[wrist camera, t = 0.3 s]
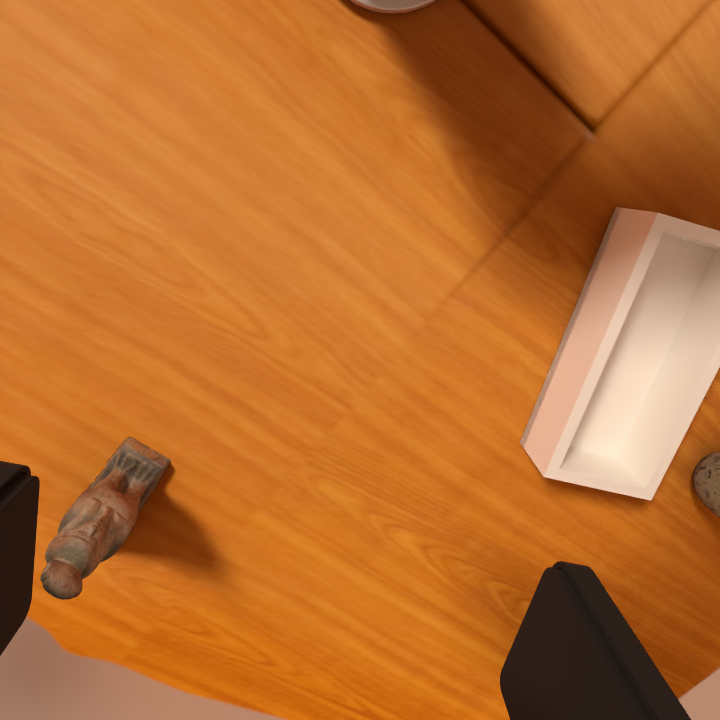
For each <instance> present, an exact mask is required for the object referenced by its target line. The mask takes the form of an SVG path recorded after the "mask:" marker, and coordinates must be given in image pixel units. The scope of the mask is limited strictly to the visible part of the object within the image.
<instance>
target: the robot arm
mask: <svg viewBox="0 0 720 720" xmlns="http://www.w3.org/2000/svg"><path fill="white" fill-rule="evenodd" d="M350 1H351V2H353V3H354V4H356V5H358V6H360V7H363V8H366V9H368V10H371V11H375V12H381V13H388V14H393V13H406V12H410V11H413V10H417V9H420V8H423V7H425V6H427V5H429V4H430V3H432V2H434V1H436V0H350ZM39 485H40V484H39V478H38V477H37V476H31V471H30V469H29V467H28V466H25V465H20V464H14V463H8V462H3V461H0V655H1V654H2V652H3V651H4V650H5V648H6V647H7V645H8V644H9V642H10V641H11V639H12V638H13V636H14V635H15V633H16V632H17V630H18V629H19V628H20V626H21V625H22V623H23V621H24V620H25V618H26V616H27V613H28V611H29V608H30V604H31V599H32V585H33V571H34V556H35V542H36V528H37V514H38V500H39ZM500 687H501V692H502V695H503V698H504V701H505V704H506V708H507V711H508V714H509V717H510V720H691V719H690V717H689V716H688V714H687V713H686V711H685V710H684V708H683V707H682V705H681V704H680V702H679V701H678V699H677V697H676V696H675V694H674V693H673V691H672V690H671V688H670V687H669V685H668V684H667V682H666V681H665V679H664V678H663V676H662V675H661V673H660V672H659V670H658V669H657V667H656V666H655V664H654V663H653V661H652V660H651V658H650V657H649V655H648V653H647V652H646V650H645V649H644V647H643V646H642V644H641V643H640V641H639V640H638V638H637V637H636V635H635V634H634V632H633V631H632V629H631V628H630V626H629V625H628V623H627V622H626V620H625V619H624V617H623V616H622V614H621V613H620V611H619V609H618V608H617V606H616V605H615V603H614V602H613V600H612V599H611V597H610V596H609V594H608V593H607V591H606V590H605V588H604V587H603V585H602V584H601V582H600V581H599V579H598V578H597V576H596V575H595V573H594V572H593V570H592V569H591V568H590V567H588V566H584V565H579V564H573V563H567V562H562V561H560V562H556V563H555V564H554V565H553V567H552V568H551V567H549V568H547V569H546V570H545V571H544V573H543V575H542V577H541V580H540V582H539V584H538V587H537V589H536V591H535V594H534V596H533V598H532V601H531V603H530V605H529V608H528V610H527V612H526V615H525V617H524V619H523V621H522V624H521V626H520V628H519V631H518V633H517V635H516V638H515V640H514V642H513V645H512V647H511V649H510V652H509V654H508V656H507V659H506V661H505V663H504V666H503V668H502V671H501V676H500Z"/></svg>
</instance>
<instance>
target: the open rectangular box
mask: <svg viewBox="0 0 720 720" xmlns="http://www.w3.org/2000/svg"><path fill="white" fill-rule="evenodd" d="M719 367H720V231H718V230H715V229H711V228H708V227H705V226H701V225H698V224H695V223H691V222H688V221H685V220H681V219H678V218H675V217H671V216H668V215H665V214H661V213H658V212H651V211H643V210H636V209H628V208H620V207H616V208H615V210H614V213H613V215H612V218H611V220H610V222H609V225H608V227H607V230H606V232H605V235H604V237H603V240H602V242H601V245H600V247H599V249H598V252H597V254H596V257H595V259H594V262H593V264H592V267H591V269H590V272H589V274H588V277H587V279H586V281H585V284H584V286H583V289H582V291H581V294H580V296H579V299H578V301H577V304H576V306H575V308H574V311H573V313H572V316H571V318H570V321H569V323H568V326H567V328H566V331H565V333H564V336H563V338H562V340H561V343H560V345H559V348H558V350H557V353H556V355H555V358H554V360H553V363H552V365H551V367H550V370H549V372H548V375H547V377H546V380H545V382H544V385H543V387H542V390H541V392H540V394H539V397H538V399H537V402H536V404H535V407H534V409H533V412H532V414H531V417H530V419H529V422H528V424H527V426H526V429H525V431H524V434H523V436H522V439H521V441H520V443H521V445H522V446H523V448H524V449H525V451H526V452H527V454H528V455H529V456H530V458H531V459H532V461H533V462H534V464H535V465H536V467H537V468H538V470H539V471H540V472H541V474H542V475H543V477H546V478H551V479H555V480H560V481H564V482H569V483H573V484H578V485H582V486H587V487H591V488H596V489H600V490H605V491H610V492H614V493H619V494H623V495H628V496H632V497H637V498H641V499H646V500H650V501H651V500H652V498H653V496H654V494H655V492H656V490H657V488H658V486H659V484H660V482H661V480H662V478H663V476H664V475H665V473H666V471H667V469H668V467H669V465H670V463H671V461H672V459H673V457H674V455H675V453H676V451H677V449H678V447H679V445H680V443H681V441H682V439H683V437H684V435H685V434H686V432H687V430H688V428H689V426H690V424H691V422H692V420H693V418H694V416H695V414H696V412H697V410H698V408H699V406H700V404H701V402H702V400H703V398H704V396H705V395H706V393H707V391H708V389H709V387H710V385H711V383H712V381H713V379H714V377H715V375H716V373H717V371H718V369H719Z"/></svg>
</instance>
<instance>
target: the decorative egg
mask: <svg viewBox="0 0 720 720" xmlns="http://www.w3.org/2000/svg"><path fill="white" fill-rule="evenodd" d="M693 482H694V487H695V490H696V493H697V495H698V496H699V498H700V499H701V501H702V502H703V503H704V504H705V506H706V507H707V508H708V509H710V510H711V511H712V512H713V513H714V514H716V515H717V516H718V517H720V452H716V453H713V454H710V455H708V456H706V457H704V458H703V459H702V460H701V461H700V462H699V463H698V464H697V466H696V468H695V471H694V475H693Z"/></svg>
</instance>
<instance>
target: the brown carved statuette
mask: <svg viewBox="0 0 720 720" xmlns="http://www.w3.org/2000/svg"><path fill="white" fill-rule="evenodd" d="M170 463H171V460H169V459H168V458H166V457H164V456H163V455H161V454H159V453H158V452H156V451H154V450H152V449H150V448H149V447H147V446H145V445H143V444H141V443H140V442H139V441H137V440H136V439H134V438H132V437H128V438H127V439H125V440H124V441H123V443H122V444H121V446H120V447H118V449H117V451H116V452H115V453H114V454H113V455H112V457H111V458H110V459H109V460H108V462H107V465H106V467H105V468H104V470H102V472H101V473H100V474H99V475H98V476H97V477H96V479H95V482H93V483H92V484H90V486H89V487H88V489H86V490H85V491H84V492H83V493H82V494H81V495H80V496H79V498H78V499H77V500H76V501H75V503H74V504H73V505H72V506H71V507H70V509H69V510H68V511H67V513H66V514H65V515H64V517H63V518H62V520H61V522H60V525H59V529H58V535H57V536H56V537H55V538H54V539H53V540H52V541H51V542H50V544H49V546H48V548H47V551H46V554H45V558H46V562H47V565H46V567H45V569H44V570H43V572H42V575H41V581H42V583H43V588H44V589H45V590H46V591H47V592H48V593H49V594H51V595H52V596H54V597H56V598H59V599H71V598H74V597H77V596H78V595H79V594H80V593H81V591H82V579H84V578H86V577H87V576H88V575H90V574H91V573H92V572H93V571H94V570H95V568H96V567H97V566H98V564H99V563H100V562H103V561H105V560H107V559H109V558H110V557H112V556H113V555H114V554H115V553H116V552H117V551H118V550H119V548H120V547H121V546H122V545H123V544H124V542H125V541H126V539H127V537H128V536H129V534H130V532H131V531H132V529H133V527H134V526H135V524H136V521H137V519H138V514H139V512H140V510H141V508H143V506H144V504H145V503H146V501H147V499H148V498H149V496H150V495H151V492H153V490H154V489H155V488H156V486H157V484H158V483H159V480H160V479H161V476H162V475H163V474H164V473H165V471H166V470H167V468H168V466H169V464H170Z"/></svg>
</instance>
